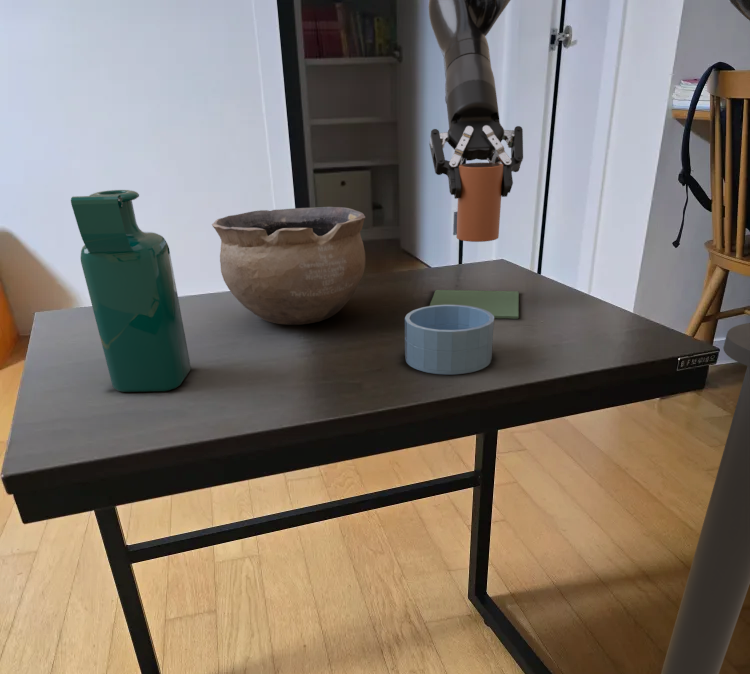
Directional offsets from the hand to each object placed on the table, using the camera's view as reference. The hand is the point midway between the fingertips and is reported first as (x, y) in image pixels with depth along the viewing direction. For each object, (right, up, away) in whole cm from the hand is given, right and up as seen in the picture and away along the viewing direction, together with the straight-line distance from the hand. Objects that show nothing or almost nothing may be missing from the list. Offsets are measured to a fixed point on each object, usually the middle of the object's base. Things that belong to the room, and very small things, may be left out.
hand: (482, 193), depth 98 cm
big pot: (-6, -26, -10) cm, 29 cm away
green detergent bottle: (-44, -30, -14) cm, 55 cm away
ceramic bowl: (-28, -16, +7) cm, 33 cm away
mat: (0, -13, +10) cm, 17 cm away
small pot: (0, -5, +5) cm, 7 cm away
